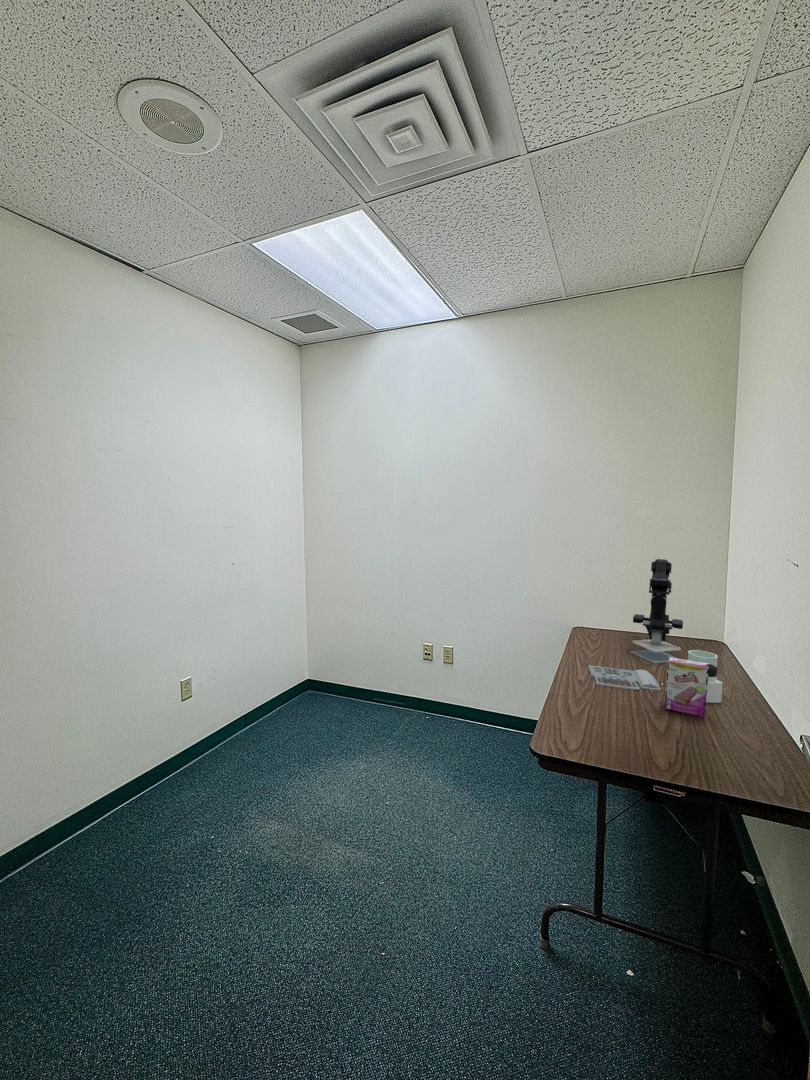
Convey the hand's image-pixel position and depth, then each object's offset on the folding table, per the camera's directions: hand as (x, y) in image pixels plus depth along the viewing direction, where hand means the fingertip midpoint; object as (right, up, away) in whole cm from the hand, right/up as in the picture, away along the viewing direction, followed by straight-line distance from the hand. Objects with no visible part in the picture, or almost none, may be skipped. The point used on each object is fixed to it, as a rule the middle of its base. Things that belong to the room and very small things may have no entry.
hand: (656, 640), depth 195 cm
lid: (0, -3, 0) cm, 2 cm away
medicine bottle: (-7, -11, -42) cm, 44 cm away
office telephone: (-27, -10, -26) cm, 38 cm away
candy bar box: (-20, -11, -52) cm, 57 cm away
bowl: (+14, -8, -10) cm, 19 cm away
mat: (0, -7, +1) cm, 7 cm away
